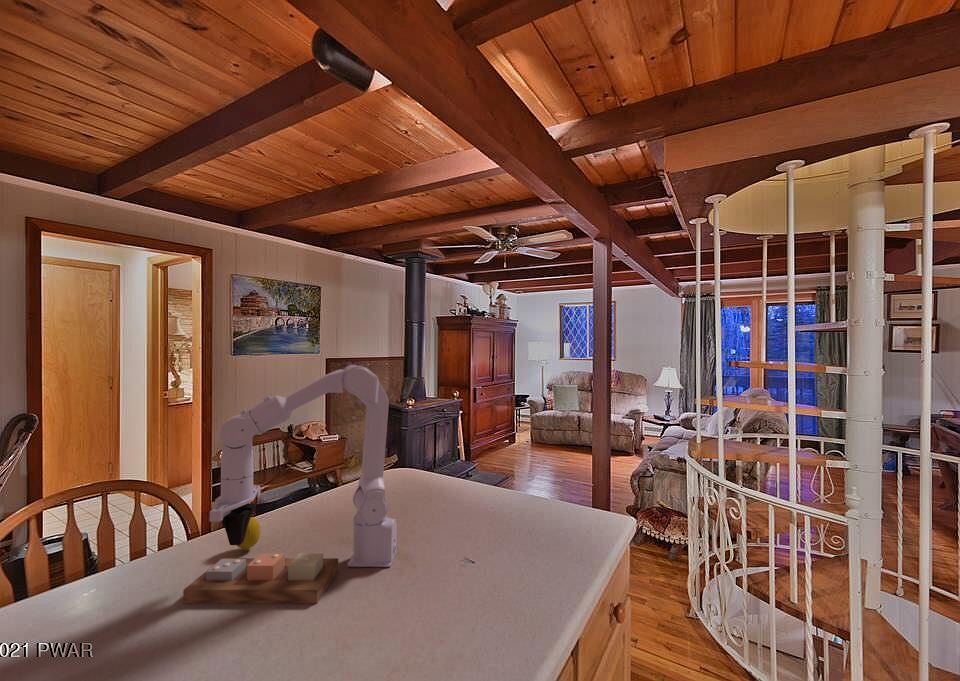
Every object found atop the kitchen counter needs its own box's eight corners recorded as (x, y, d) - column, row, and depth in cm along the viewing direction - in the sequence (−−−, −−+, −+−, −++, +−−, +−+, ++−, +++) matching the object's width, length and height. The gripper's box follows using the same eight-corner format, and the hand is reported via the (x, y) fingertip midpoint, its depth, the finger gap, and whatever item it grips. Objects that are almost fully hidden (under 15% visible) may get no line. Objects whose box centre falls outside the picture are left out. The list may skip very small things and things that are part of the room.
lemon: (248, 557, 97) (249, 521, 97) (227, 554, 98) (228, 519, 98) (265, 546, 103) (265, 512, 103) (245, 543, 104) (246, 510, 104)
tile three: (245, 575, 88) (245, 557, 88) (231, 589, 83) (231, 570, 83) (221, 575, 88) (221, 557, 88) (206, 589, 83) (206, 570, 83)
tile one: (323, 570, 88) (323, 552, 88) (313, 583, 83) (313, 564, 83) (298, 570, 88) (299, 552, 88) (288, 583, 83) (288, 564, 83)
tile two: (284, 570, 88) (284, 552, 88) (272, 583, 83) (273, 564, 83) (260, 570, 88) (260, 552, 88) (247, 583, 83) (247, 564, 83)
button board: (338, 570, 91) (338, 558, 92) (317, 603, 79) (317, 589, 80) (222, 569, 91) (222, 558, 91) (183, 603, 79) (183, 589, 79)
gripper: (238, 466, 93) (237, 528, 93) (193, 487, 79) (192, 561, 78) (270, 465, 93) (269, 528, 93) (231, 487, 79) (230, 561, 78)
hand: (236, 543), depth 86 cm, fingers closed
